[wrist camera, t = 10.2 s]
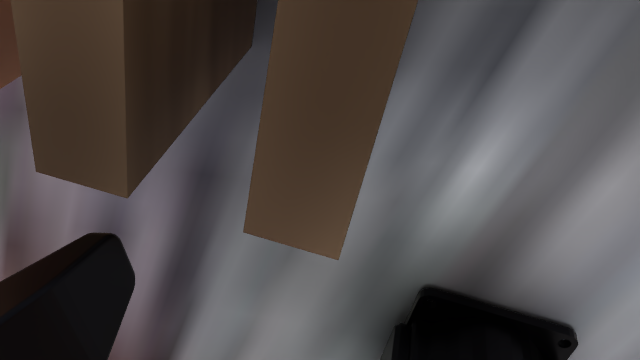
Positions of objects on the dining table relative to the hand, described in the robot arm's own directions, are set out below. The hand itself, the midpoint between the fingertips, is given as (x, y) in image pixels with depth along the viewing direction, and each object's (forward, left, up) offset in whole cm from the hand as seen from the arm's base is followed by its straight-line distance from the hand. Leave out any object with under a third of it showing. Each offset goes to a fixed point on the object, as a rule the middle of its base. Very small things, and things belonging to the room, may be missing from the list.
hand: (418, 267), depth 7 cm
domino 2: (+2, 0, -11) cm, 11 cm away
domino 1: (+7, 0, -11) cm, 13 cm away
